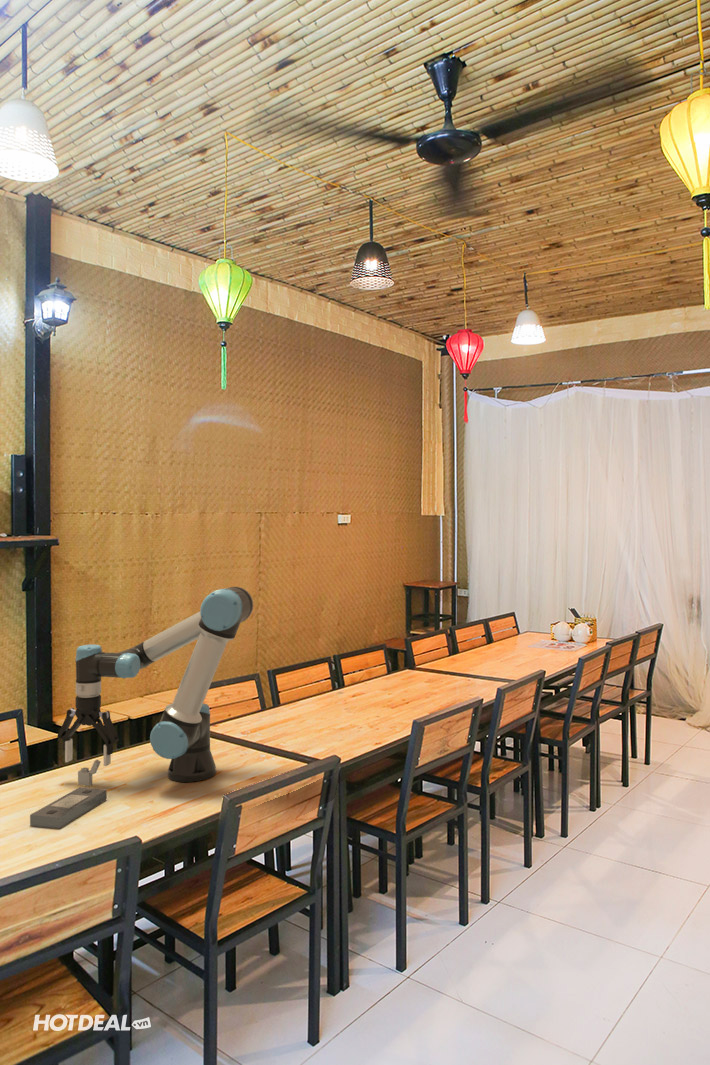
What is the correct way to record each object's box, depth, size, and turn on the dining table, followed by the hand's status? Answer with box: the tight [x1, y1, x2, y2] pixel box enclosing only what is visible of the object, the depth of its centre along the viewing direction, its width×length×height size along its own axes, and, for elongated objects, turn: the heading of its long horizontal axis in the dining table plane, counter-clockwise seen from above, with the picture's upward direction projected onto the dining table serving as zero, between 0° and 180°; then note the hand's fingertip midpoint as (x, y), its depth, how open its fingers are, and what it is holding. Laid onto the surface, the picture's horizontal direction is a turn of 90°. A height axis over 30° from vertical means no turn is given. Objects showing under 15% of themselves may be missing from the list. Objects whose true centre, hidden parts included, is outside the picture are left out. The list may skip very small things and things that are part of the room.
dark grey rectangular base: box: [29, 786, 108, 830], centre depth 209 cm, size 9×22×3 cm, turn 166°
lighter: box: [77, 759, 102, 787], centre depth 231 cm, size 7×2×8 cm, turn 77°
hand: (87, 763), depth 231 cm, fingers open, 13 cm apart
